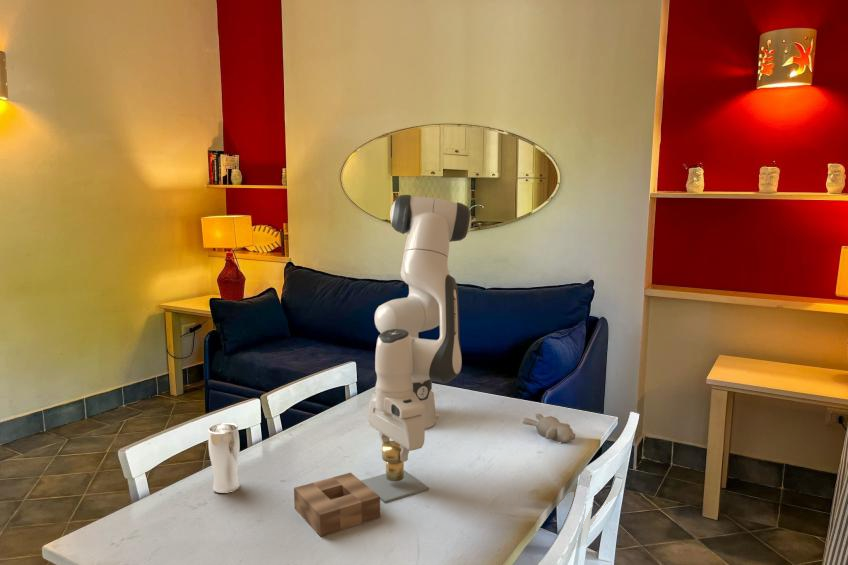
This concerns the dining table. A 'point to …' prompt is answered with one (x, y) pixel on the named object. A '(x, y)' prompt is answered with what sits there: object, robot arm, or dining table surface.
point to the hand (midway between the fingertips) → (394, 455)
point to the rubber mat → (394, 486)
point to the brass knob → (392, 461)
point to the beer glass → (224, 456)
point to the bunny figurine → (551, 428)
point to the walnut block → (336, 503)
